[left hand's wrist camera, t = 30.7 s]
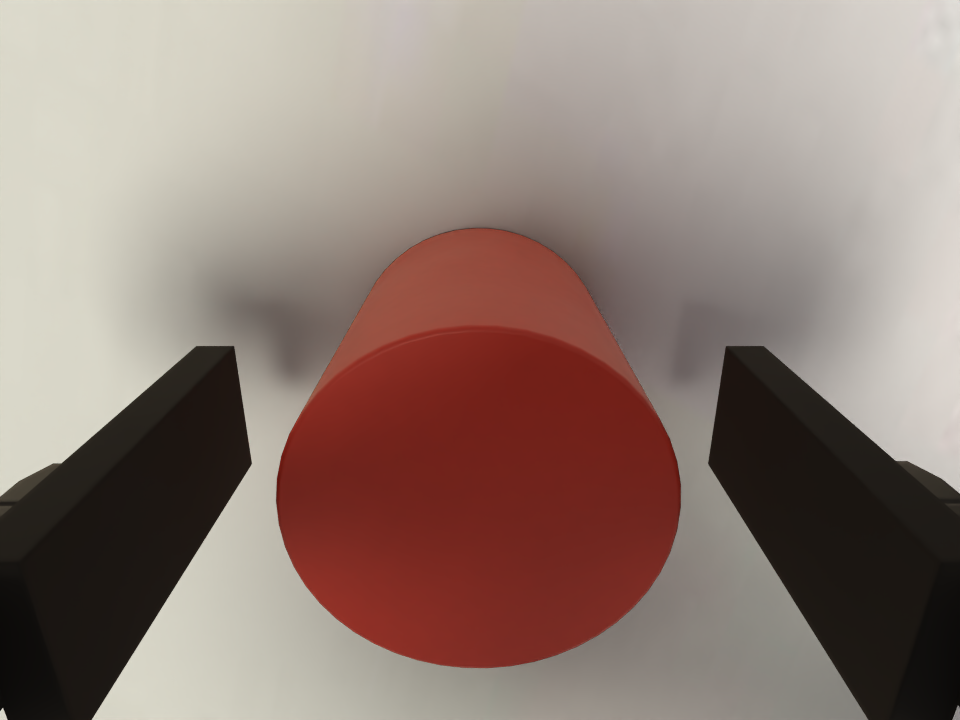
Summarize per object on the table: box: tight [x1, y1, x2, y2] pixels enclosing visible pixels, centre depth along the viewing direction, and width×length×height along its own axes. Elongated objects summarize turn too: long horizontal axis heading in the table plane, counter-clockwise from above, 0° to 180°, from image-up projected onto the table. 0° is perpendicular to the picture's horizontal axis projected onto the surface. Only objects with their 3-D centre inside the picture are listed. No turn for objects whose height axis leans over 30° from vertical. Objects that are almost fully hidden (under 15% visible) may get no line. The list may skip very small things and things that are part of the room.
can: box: [276, 228, 681, 668], centre depth 13 cm, size 6×6×7 cm
